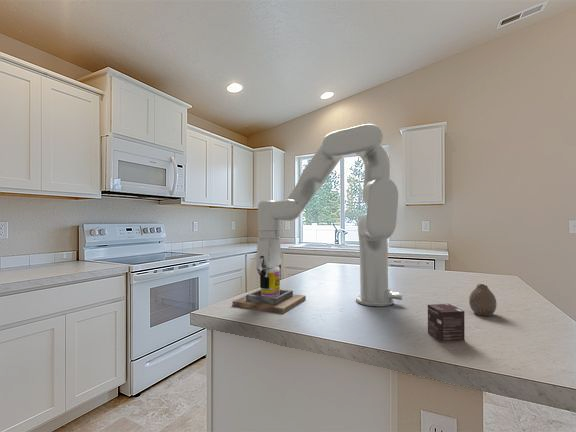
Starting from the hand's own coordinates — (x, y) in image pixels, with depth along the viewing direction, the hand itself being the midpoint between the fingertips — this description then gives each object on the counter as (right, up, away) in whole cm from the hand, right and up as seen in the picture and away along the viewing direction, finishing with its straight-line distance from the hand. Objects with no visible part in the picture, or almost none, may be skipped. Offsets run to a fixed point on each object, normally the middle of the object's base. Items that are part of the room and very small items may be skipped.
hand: (270, 285), depth 106 cm
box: (+45, -5, -32) cm, 56 cm away
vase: (+65, -5, -16) cm, 67 cm away
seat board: (0, -6, 0) cm, 6 cm away
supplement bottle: (0, -4, 0) cm, 4 cm away
